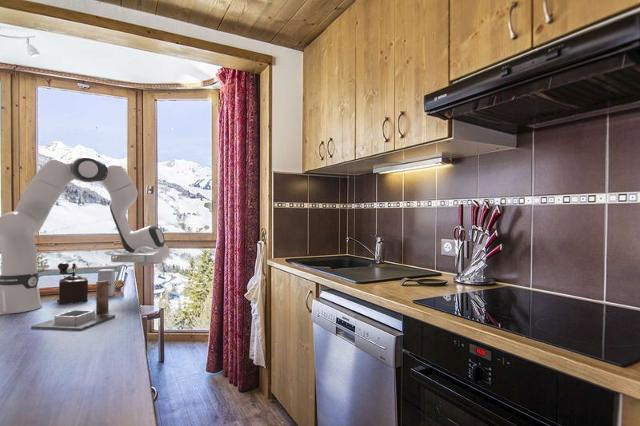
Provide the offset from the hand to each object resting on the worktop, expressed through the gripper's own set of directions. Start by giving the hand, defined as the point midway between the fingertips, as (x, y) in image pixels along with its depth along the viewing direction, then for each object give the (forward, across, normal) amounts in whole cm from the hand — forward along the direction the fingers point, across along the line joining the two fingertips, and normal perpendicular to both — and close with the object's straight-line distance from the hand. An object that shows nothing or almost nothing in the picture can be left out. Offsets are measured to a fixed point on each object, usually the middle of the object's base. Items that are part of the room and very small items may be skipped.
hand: (123, 259), depth 151 cm
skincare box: (-17, -21, +19) cm, 33 cm away
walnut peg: (+12, 0, +19) cm, 22 cm away
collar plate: (+25, 0, +19) cm, 32 cm away
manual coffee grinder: (-3, -26, +19) cm, 33 cm away
